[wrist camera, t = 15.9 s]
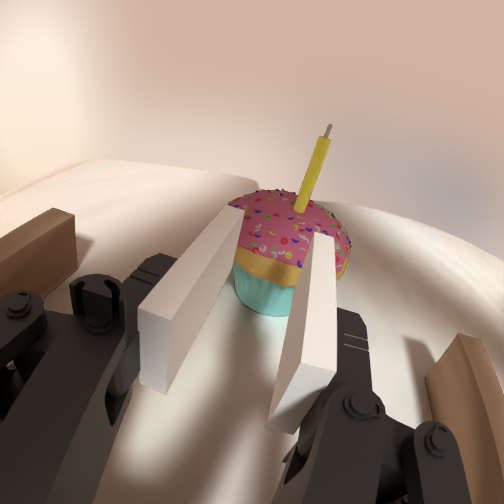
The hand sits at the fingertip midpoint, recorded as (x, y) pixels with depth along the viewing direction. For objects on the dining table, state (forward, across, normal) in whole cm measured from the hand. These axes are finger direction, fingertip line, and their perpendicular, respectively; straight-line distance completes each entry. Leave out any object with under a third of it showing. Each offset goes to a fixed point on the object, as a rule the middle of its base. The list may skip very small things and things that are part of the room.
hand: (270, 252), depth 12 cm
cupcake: (+7, 0, -7) cm, 10 cm away
